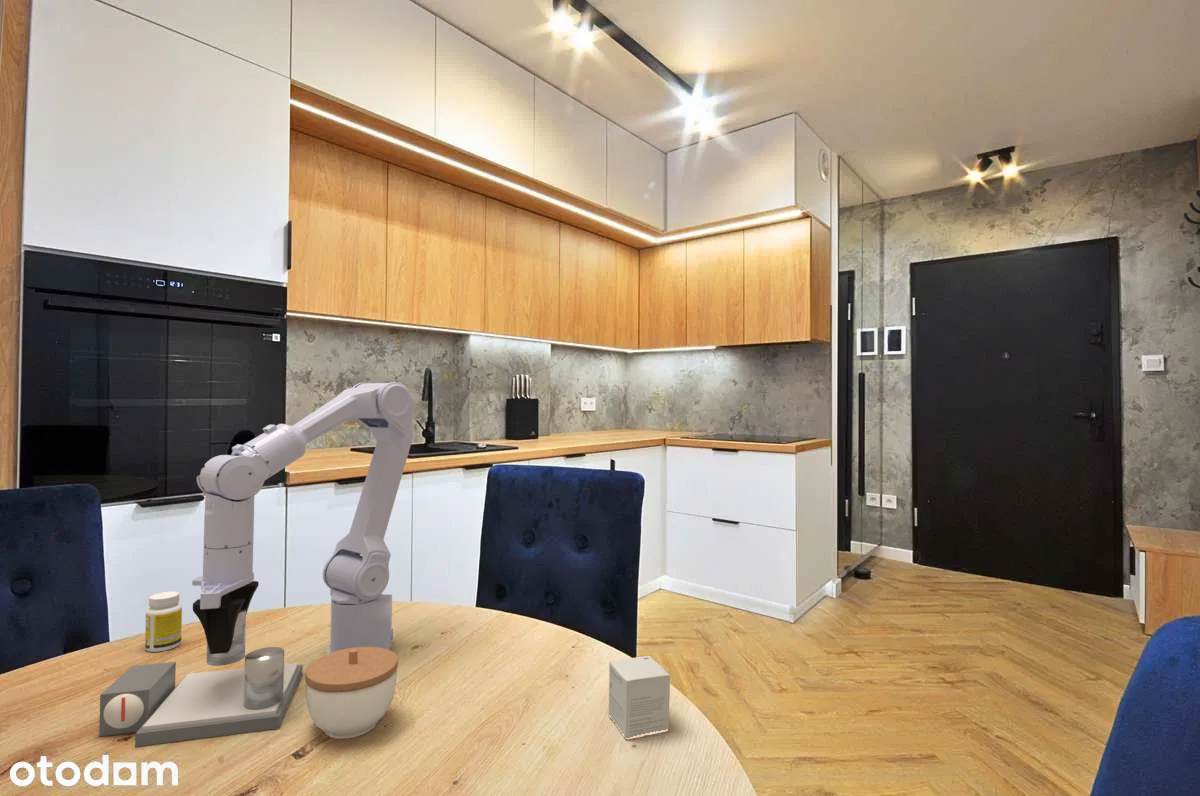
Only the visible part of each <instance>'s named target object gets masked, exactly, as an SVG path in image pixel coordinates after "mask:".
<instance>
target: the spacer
mask: <svg viewBox="0 0 1200 796" xmlns="http://www.w3.org/2000/svg"><path fill="white" fill-rule="evenodd" d="M246 628H247V615H246V610H244V609H240V612H239V614H238V617H237V621H236V624H235V630H234V636H233V641H232V645H231V648H230V651H229V652H228V653H220V654H210V651H209V647H208V644H207V643H206V664H207V665H209V666H213V667H221V666H227V665H232V664H234V663H238V662H240V661H241V660H243V659H245V656H246V636H247V635H246V632H247V631H246V630H247V629H246Z"/></svg>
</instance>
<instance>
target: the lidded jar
mask: <svg viewBox="0 0 1200 796" xmlns="http://www.w3.org/2000/svg"><path fill="white" fill-rule="evenodd" d="M398 666H399V658H398V655H397V654H396V653H395V652H393V651H392V650H391V649H390V650H387V649H384V648H379V647H355V648H348V649H343V650H339V651H335V652H332V653H329V654H327V653H326V654H323V655H322V656H320V657H317V659H315V660H313V661H312V662H310V664H308V666H307V667H306V669H305V673H304V680H305V698H306V705H307V708H308V713H309V715H310V717H311V720H312V721H313V722H314V724H315V725H316V726H317V727H318V728H319V729H320V730H322V731H324V734H325V735H326V736H327V737H329V738H331V739H336V740H348V739H354V738H357V736H358V737H361V736H363V735H365V733H366V734H367V733H369V732H371V731H372V730H373V729H374V728H376V726H377V724H378V723H379V721H381V719H382V718H383V717H384V716H385V714H386V713H387V712H388V710H389V708H390V706H391V704H392V702H393V698H394V695H395V691H396V685H397V674H398V673H397V669H398ZM370 730H371V731H370ZM360 735H361V736H360Z"/></svg>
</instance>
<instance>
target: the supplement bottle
mask: <svg viewBox="0 0 1200 796" xmlns="http://www.w3.org/2000/svg"><path fill="white" fill-rule="evenodd" d="M179 602H180V592H179V591H175V590H174V591H170V590H169V591H164V592H163V591H162V592H158V593H154V594H152V595H150V596H149V599H148V607H149V608H148V609H146V611H145V635H144V636H145V637H144V639H145V640H144V641H145V642H144V643H145V644H144V649H145V651H146V652H149V653H150V652H152V653H157V652H165V651H169V650H172V649H175V648H176V647H178V646H180V645H181V643H182V620H183V618H182V617H183V616H182V615H183V607H182V604H181V603H179Z"/></svg>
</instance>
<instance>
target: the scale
mask: <svg viewBox="0 0 1200 796" xmlns="http://www.w3.org/2000/svg"><path fill="white" fill-rule="evenodd" d="M176 665H177V662H176V661H170V662H169V661H168V662H161V663H160V662H159V663H158V662H157V663H148V664H147V663H146V664H140V665H139V664H138V665H137V664H136V665H131V666H130V667H129V668H128V669H127V670H125V671H124V673H122V674H121V675H120V676H119V677H118V678H117V679H116V680H115V681H114V682H112V683H111V684H110V685H109V686H108V687H107V688H106V689H105V690H103V692H101V693H100V698H99V730H98V731H99V732H98V737H107V736H115V735H125V734H132V733H134V734H135V735H134V736H135V737H134V738H135V740H134V747H135V748H136V747H145V746H151V745H152V746H153V745H159V744H168V743H174V742H183V741H190V740H197V739H198V740H199V739H207V738H208V739H209V738H215V737H216V738H217V737H223V736H230V735H237V734H245V733H246V734H247V733H252V732H260V731H269V730H276V729H280V727H281V725H282V722H283V720H284V718H285V715H286V713H287V710H288V708H289V706H290V703H291V702H292V699H293V697H294V694H295V693H296V690H297V688H298V685H299V683H300V680H302V679H301V678H302V676H303V667H304V666H303V664H299V662H296V663H295V662H292V663H284V685H283V699H282V701H281V702H279V703H278V704H276V705H274V706H272V707H269V708H265V709H260V710H249V709H246V708H245V707H244V676H245V667H243V668H235V669H233V668H232V669H224V670H215V671H214V670H212V671H202V672H193V673H187V674H186V675H185V676H184V677H183V678H182V679H181V680H180V681H179V683H177V684H176V669H177V668H176Z"/></svg>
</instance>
